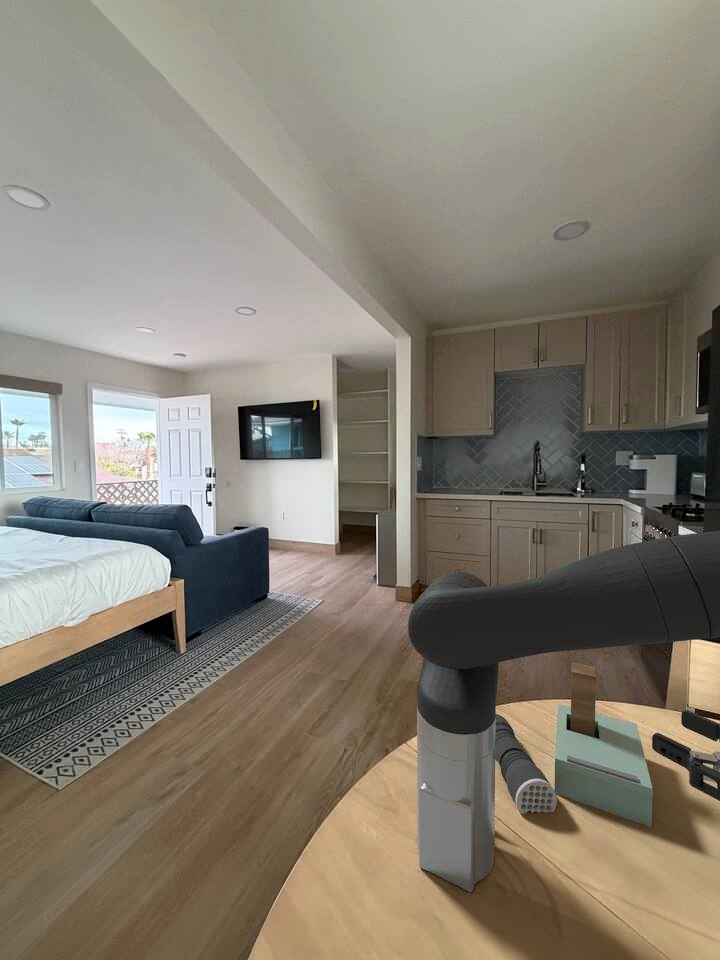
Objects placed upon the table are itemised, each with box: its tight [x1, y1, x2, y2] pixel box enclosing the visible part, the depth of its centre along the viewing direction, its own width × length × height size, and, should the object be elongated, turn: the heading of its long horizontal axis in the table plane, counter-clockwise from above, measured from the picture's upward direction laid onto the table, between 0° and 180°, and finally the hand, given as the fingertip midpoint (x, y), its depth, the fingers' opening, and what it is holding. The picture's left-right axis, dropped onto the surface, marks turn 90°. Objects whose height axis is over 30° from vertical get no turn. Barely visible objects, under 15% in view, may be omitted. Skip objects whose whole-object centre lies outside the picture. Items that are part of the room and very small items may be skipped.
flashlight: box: [495, 713, 558, 815], centre depth 60 cm, size 15×5×5 cm, turn 3°
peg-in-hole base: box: [554, 703, 654, 828], centre depth 59 cm, size 14×11×6 cm
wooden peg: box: [570, 662, 597, 738], centre depth 61 cm, size 3×3×14 cm
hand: (668, 728), depth 52 cm, fingers open, 8 cm apart
